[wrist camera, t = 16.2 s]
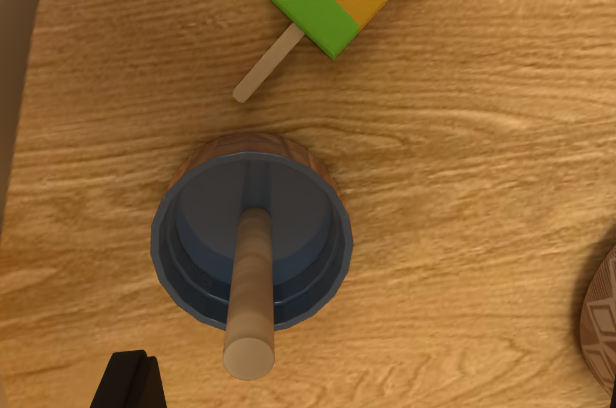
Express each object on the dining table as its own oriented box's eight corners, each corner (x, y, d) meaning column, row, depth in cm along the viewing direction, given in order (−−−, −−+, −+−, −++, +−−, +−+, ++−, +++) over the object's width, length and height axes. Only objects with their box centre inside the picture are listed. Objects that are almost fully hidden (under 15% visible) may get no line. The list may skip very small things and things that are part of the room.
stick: (233, 229, 37) (214, 371, 23) (246, 201, 37) (235, 330, 23) (263, 241, 38) (261, 387, 24) (276, 214, 37) (283, 348, 23)
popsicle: (440, -62, 32) (450, -65, 31) (269, 125, 36) (269, 132, 34) (375, -138, 31) (381, -146, 29) (202, 66, 34) (198, 70, 32)
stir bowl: (139, 256, 38) (121, 294, 34) (205, 99, 35) (196, 117, 30) (295, 316, 41) (299, 358, 36) (372, 175, 37) (387, 202, 33)
